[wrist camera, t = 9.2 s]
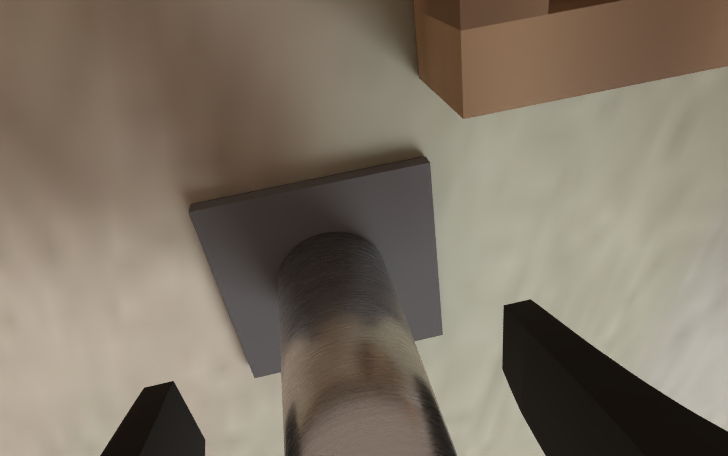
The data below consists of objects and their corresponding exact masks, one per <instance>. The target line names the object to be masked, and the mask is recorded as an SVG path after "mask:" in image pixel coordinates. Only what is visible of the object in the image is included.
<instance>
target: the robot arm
mask: <svg viewBox="0 0 728 456" xmlns="http://www.w3.org/2000/svg"><path fill="white" fill-rule="evenodd" d="M502 369H503V372H504V374H505V376H506V379H507V381H508V383H509V386H510V388H511V391H512V393H513V395H514V397H515V400H516V402H517V404H518V406H519V409H520V411H521V413H522V415H523V416H524V418H525V420H526V422H527V424H528V425H529V427H530V429H531V431H532V432H533V434H534V436H535V438H536V439H537V441H538V443H539V445H540V446H541V448H542V450H543V452H544V453H545V455H546V456H728V432H727V431H726V430H724V429H722V428H720V427H718V426H717V425H715V424H713V423H711V422H709V421H708V420H706V419H704V418H702V417H701V416H699V415H697V414H695V413H694V412H692V411H690V410H689V409H687V408H685V407H684V406H682V405H680V404H679V403H677V402H676V401H674V400H672V399H671V398H669V397H668V396H666V395H664V394H663V393H661V392H660V391H658V390H657V389H655V388H653V387H652V386H650V385H649V384H647V383H646V382H644V381H643V380H641V379H640V378H638V377H637V376H635V375H634V374H632V373H631V372H629V371H628V370H626V369H625V368H623V367H622V366H621V365H619V364H618V363H616V362H615V361H613V360H612V359H611V358H609V357H608V356H606V355H605V354H603V353H602V352H601V351H599V350H598V349H596V348H595V347H594V346H592V345H591V344H589V343H588V342H587V341H585V340H584V339H583V338H581V337H580V336H579V335H577V334H576V333H575V332H573V331H572V330H571V329H569V328H568V327H567V326H565V325H564V324H563V323H561V322H560V321H559V320H557V319H556V318H555V317H553V316H552V315H551V314H549V313H548V312H547V311H545V310H544V309H543V308H542V307H540V306H539V305H538V304H536V303H535V302H533V301H532V300H531V299H530V300H526V301H521V302H517V303H513V304H508V305H504V319H503V366H502ZM100 456H205V439H204V437H203V435H202V433H201V431H200V429H199V427H198V426H197V424H196V422H195V420H194V418H193V416H192V414H191V413H190V411H189V409H188V407H187V405H186V403H185V401H184V400H183V398H182V396H181V394H180V392H179V390H178V388H177V387H176V385H175V383H174V381H172V382H168V383H163V384H159V385H154V386H150V387H146V388H144V389H143V390H142V392H141V393H140V395H139V396H138V398H137V399H136V401H135V402H134V404H133V405H132V407H131V409H130V410H129V412H128V413H127V415H126V416H125V418H124V420H123V421H122V423H121V424H120V426H119V427H118V429H117V431H116V432H115V434H114V435H113V437H112V438H111V440H110V441H109V443H108V445H107V446H106V448H105V449H104V451H103V452H102V454H101V455H100Z"/></svg>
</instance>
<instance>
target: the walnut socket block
mask: <svg viewBox="0 0 728 456" xmlns="http://www.w3.org/2000/svg"><path fill="white" fill-rule="evenodd" d="M413 5H414V18H415V31H416V43H417V56H418V69H419V78H420V79H421V80H422V81H423V82H424V83H425V84H426V85H427V86H428V87H429V88H431V89H432V90H433V91H434V92H435V93H436V94H437V95H438V96H439V97H440V98H441V99H442V100H444V101H445V102H446V103H447V104H448V105H449V106H450V107H451V108H452V109H453V110H454V111H455V112H457V113H458V114H459V115H460V116H461V117H462V118H463V119H465V118H470V117H475V116H480V115H485V114H490V113H495V112H500V111H505V110H510V109H515V108H520V107H525V106H530V105H535V104H540V103H545V102H550V101H555V100H560V99H565V98H570V97H575V96H580V95H585V94H590V93H595V92H600V91H605V90H610V89H615V88H620V87H625V86H630V85H635V84H640V83H645V82H650V81H655V80H660V79H665V78H670V77H675V76H679V75H684V74H689V73H694V72H699V71H704V70H709V69H714V68H719V67H724V66H728V0H413Z"/></svg>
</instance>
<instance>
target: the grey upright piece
mask: <svg viewBox="0 0 728 456" xmlns="http://www.w3.org/2000/svg"><path fill="white" fill-rule="evenodd" d="M278 303H279V328H280V353H281V378H282V403H283V428H284V453H285V456H457V453H456V451H455V448H454V445H453V443H452V440H451V437H450V435H449V432H448V429H447V427H446V424H445V421H444V419H443V416H442V413H441V411H440V408H439V406H438V403H437V400H436V398H435V395H434V392H433V390H432V387H431V384H430V382H429V379H428V376H427V374H426V371H425V368H424V366H423V363H422V360H421V358H420V355H419V353H418V350H417V347H416V345H415V342H414V339H413V337H412V334H411V331H410V329H409V326H408V323H407V321H406V318H405V315H404V313H403V310H402V307H401V305H400V302H399V299H398V297H397V294H396V292H395V289H394V286H393V284H392V281H391V278H390V276H389V273H388V270H387V268H386V265H385V262H384V260H383V257H382V255H381V254H380V252H379V250H378V249H377V248H376V247H375V246H374V245H373V244H372V243H371V242H369V241H368V240H366V239H364V238H362V237H360V236H358V235H355V234H351V233H346V232H328V233H322V234H318V235H315V236H312V237H310V238H308V239H306V240H304V241H302V242H301V243H299V244H298V245H296V246H295V247H294V248H293V249H292V250H291V251H290V252H289V253H288V254H287V255H286V257H285V258H284V260H283V261H282V264H281V266H280V269H279V272H278Z"/></svg>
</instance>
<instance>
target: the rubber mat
mask: <svg viewBox="0 0 728 456" xmlns="http://www.w3.org/2000/svg"><path fill="white" fill-rule="evenodd" d="M189 215H190V217H191V220H192V222H193V225H194V227H195V230H196V232H197V235H198V237H199V240H200V242H201V245H202V247H203V250H204V252H205V255H206V257H207V260H208V262H209V265H210V267H211V270H212V272H213V275H214V277H215V280H216V282H217V285H218V287H219V290H220V292H221V295H222V297H223V300H224V302H225V305H226V307H227V310H228V312H229V315H230V317H231V320H232V322H233V325H234V327H235V330H236V332H237V335H238V337H239V340H240V342H241V345H242V348H243V350H244V353H245V355H246V358H247V360H248V363H249V365H250V368H251V370H252V373H253V375H254V378H257V377H262V376H266V375H270V374H275V373H279V372H281V353H280V328H279V303H278V272H279V269H280V266H281V264H282V261H283V260H284V258H285V257H286V255H287V254H288V253H289V252H290V251H291V250H292V249H293V248H294V247H295V246H296V245H298V244H299V243H301V242H302V241H304V240H306V239H308V238H310V237H312V236H315V235H318V234H322V233H328V232H346V233H351V234H355V235H358V236H360V237H362V238H364V239H366V240H368V241H369V242H371V243H372V244H373V245H374V246H375V247H376V248H377V249H378V250H379V252H380V254H381V255H382V257H383V260H384V262H385V265H386V268H387V270H388V273H389V276H390V278H391V281H392V284H393V286H394V289H395V292H396V294H397V297H398V299H399V302H400V305H401V307H402V310H403V313H404V315H405V318H406V321H407V323H408V326H409V329H410V331H411V334H412V337H413V339H414V341H417V340H422V339H426V338H430V337H435V336H439V335H443V333H442V319H441V306H440V292H439V279H438V265H437V252H436V239H435V225H434V212H433V198H432V185H431V171H430V162H429V161H428V159H427V158H426V157H420V158H415V159H411V160H406V161H401V162H396V163H391V164H386V165H381V166H376V167H372V168H367V169H362V170H357V171H352V172H347V173H342V174H337V175H332V176H328V177H323V178H318V179H313V180H308V181H303V182H298V183H293V184H289V185H284V186H279V187H274V188H269V189H264V190H259V191H254V192H249V193H245V194H240V195H235V196H230V197H225V198H220V199H215V200H210V201H206V202H201V203H196V204H191V206H190V209H189Z"/></svg>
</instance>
